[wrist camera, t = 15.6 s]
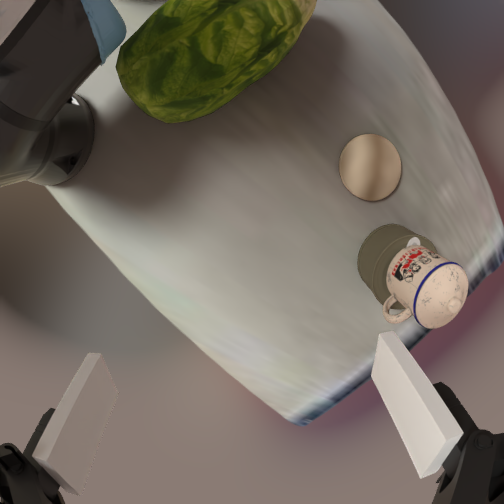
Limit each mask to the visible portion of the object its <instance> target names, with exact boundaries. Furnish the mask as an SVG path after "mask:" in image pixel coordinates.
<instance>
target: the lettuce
mask: <svg viewBox="0 0 504 504" xmlns="http://www.w3.org/2000/svg"><path fill="white" fill-rule="evenodd" d="M316 2H317V0H168V1H167V2H166V3H165V4H163V5H162V6H161V7H160V8H159V9H157V10H156V11H155V12H154V13H153V14H152V15H151V16H150V17H149V18H148V19H147V20H146V22H145V23H144V24H143V25H142V26H141V27H140V28H139V29H138V30H137V31H136V32H135V33H134V34H133V35H132V36H131V37H130V38H129V39H128V40H127V41H126V42H125V43H124V44H123V45H122V46H121V47H120V51H119V55H118V59H117V63H116V70H117V73H118V76H119V79H120V82H121V85H122V87H123V89H124V90H125V92H126V93H127V94H128V96H129V97H130V98H131V99H132V100H133V102H134V103H135V104H136V105H137V106H138V107H139V108H140V109H142V110H143V111H144V112H145V113H146V114H148V115H149V116H151V117H154V118H156V119H158V120H161V121H163V122H165V123H177V122H186V121H191V120H194V119H196V118H199V117H202V116H205V115H208V114H211V113H213V112H214V111H216V110H217V109H219V108H220V107H222V106H223V105H225V104H226V103H228V102H230V101H231V100H232V99H233V98H234V97H235V96H237V95H238V94H239V93H240V92H241V91H243V90H244V89H245V88H246V87H248V86H249V85H251V84H252V83H254V82H255V81H257V80H258V79H260V78H262V77H263V76H265V75H266V74H267V73H269V72H270V71H271V70H272V69H273V68H274V67H276V66H277V65H278V64H279V63H280V62H281V61H282V59H283V58H284V57H285V56H286V55H287V54H288V53H289V51H290V50H291V48H292V47H293V46H294V44H295V43H296V42H297V39H298V37H299V35H300V33H301V31H302V29H303V27H304V26H305V25H306V23H307V22H308V20H309V19H310V17H311V16H312V14H313V11H314V9H315V6H316Z"/></svg>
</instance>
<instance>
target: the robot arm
mask: <svg viewBox="0 0 504 504" xmlns="http://www.w3.org/2000/svg"><path fill="white" fill-rule="evenodd" d="M125 36H126V25H125V23H124V21H123V19H122V17H121V16H120V14H119V13H118V11H117V10H116V8H115V7H114V5H113V4H112V3H111V1H110V0H0V187H3V186H7V185H9V184H13V183H17V182H21V181H24V180H27V181H30V182H34V183H37V184H41V185H55V184H58V183H62V182H65V181H67V180H69V179H70V178H72V177H73V176H75V175H76V174H77V173H78V172H79V171H80V169H81V168H82V167H83V165H84V164H85V162H86V161H87V159H88V157H89V154H90V152H91V149H92V145H93V139H94V122H93V117H92V114H91V111H90V109H89V107H88V105H87V104H86V102H85V101H84V100H83V99H82V98H81V97H79V96H78V95H76V94H74V93H75V92H76V90H77V89H78V88H79V87H80V86H81V85H82V84H83V82H84V81H85V80H86V79H87V78H88V77H89V76H90V75H91V74H92V73H93V72H94V71H95V70H96V69H97V67H98V66H99V65H101V66H102V65H103V64H104V63H105V61H106V58H107V57H108V56H109V55H110V54H111V53H112V52H113V51H114V50H115V49H116V48H117V47H118V46H119V45H120V44H121V43H122V42H123V40H124V38H125ZM371 377H372V379H373V381H374V383H375V385H376V387H377V389H378V391H379V393H380V395H381V397H382V399H383V401H384V403H385V405H386V407H387V409H388V411H389V413H390V415H391V417H392V419H393V421H394V423H395V425H396V427H397V429H398V431H399V433H400V436H401V438H402V440H403V442H404V444H405V446H406V448H407V450H408V453H409V455H410V457H411V459H412V461H413V463H414V466H415V468H416V470H417V472H418V474H419V476H420V478H423V477H426V476H428V475H431V474H433V473H435V472H437V471H438V469H439V468H440V467H441V465H443V467H444V469H445V471H444V472H443V473H442V475H441V476H440V477H439V478H438V480H437V482H436V483H439V481H440V480H441V481H440V484H439V486H438V489H437V492H436V494H435V497H434V500H433V502H432V504H504V433H501V434H492V433H491V432H490V431H487V430H480V429H478V427H477V426H476V425H475V423H474V421H473V420H472V418H471V417H470V416H469V414H468V413H467V411H466V410H465V408H464V407H463V406H462V405H461V403H460V401H459V400H458V398H456V396H455V394H454V393H453V391H452V390H451V389H450V388H449V387H448V386H446V385H445V384H443V383H442V382H439V383H436V384H433V385H432V384H431V382H430V381H429V379H428V378H427V376H426V375H425V374H424V372H423V371H422V369H421V368H420V367H419V365H418V364H417V362H416V361H415V360H414V358H413V357H412V355H411V354H410V353H409V351H408V350H407V348H406V347H405V346H404V344H403V343H402V342H401V340H400V339H399V337H398V336H397V335H396V333H395V332H394V331H389V332H383V333H379V337H378V343H377V349H376V354H375V359H374V364H373V369H372V374H371ZM118 394H119V393H118V391H117V389H116V387H115V385H114V382H113V380H112V378H111V375H110V373H109V371H108V369H107V366H106V364H105V361H104V359H103V356H102V354H101V353H88V355H87V356H86V358H85V360H84V361H83V363H82V364H81V366H80V368H79V369H78V371H77V373H76V375H75V376H74V378H73V380H72V381H71V383H70V385H69V387H68V389H67V390H66V392H65V394H64V395H63V397H62V399H61V401H60V403H59V404H58V406H57V408H56V409H53V408H50V409H49V410H48V411H47V412H46V413H45V414H44V415H43V416H42V418H41V420H40V422H39V425H38V426H37V427H36V429H35V432H34V433H33V435H32V437H31V439H30V441H29V443H28V444H27V446H26V449H25V450H24V452H23V454H22V453H21V452H20V451H19V449H18V448H17V447H16V446H15V445H13V444H11V443H5V444H2V445H0V497H1V502H0V504H65V502H64V500H63V497H62V495H61V493H60V492H59V491H58V489H59V487H60V486H61V487H62V488H63V489H64V490H65V491H66V492H68V493H72V494H76V495H79V496H82V494H83V491H84V488H85V485H86V481H87V478H88V475H89V472H90V469H91V467H92V463H93V461H94V458H95V455H96V452H97V449H98V447H99V444H100V441H101V438H102V436H103V433H104V430H105V428H106V425H107V422H108V420H109V417H110V414H111V412H112V409H113V407H114V404H115V402H116V399H117V397H118Z"/></svg>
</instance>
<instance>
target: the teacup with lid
mask: <svg viewBox="0 0 504 504" xmlns="http://www.w3.org/2000/svg"><path fill="white" fill-rule="evenodd" d="M386 282H387V287H388V290H389V292H390V293H391V296H390V297H389V298H388V299H387V300H386V301H385V303H384V305H383V315H384V317H385V319H386V320H387V321H388V322H389V323H393V324H395V323H400V322H403V321H404V320H406V319H407V318H409V317H410V316H411V315H413V316H414V317H415V319H416V321H417V322H418V323H419V324H420V325H421V326H423V327H426V328H439V327H442V326H444V325H446V324H447V323H449V322H450V321H451V320H452V319H453V318H454V317H455V316H456V315H457V314H458V313H459V311H460V310H461V308H462V306H463V304H464V302H465V300H466V297H467V293H468V279H467V275H466V273H465V271H464V270H463V268H462V267H461V266H460V265H459V264H457V263H454V262H450V261H448V260H446V259H445V258H443V257H441V256H439V255H438V254H436V253H434V252H432V251H431V250H429V249H427V248H425V247H423V246H420V245H411V246H408V247H405V248H404V249H402V250H401V251H400V252H398V253H397V254H396V256H395V257H394V258H393V260H392V261H391V263H390V265H389V268H388V271H387V277H386ZM396 301H399V302H400V303H401V304H402V305H403V306H404V307H405V308H406V309H405V310H404V311H403V312H401V313H400V314H397V315H390V314H389V309H390V307H391V306H392V305H393V304H394V303H395V302H396Z"/></svg>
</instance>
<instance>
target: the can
mask: <svg viewBox="0 0 504 504" xmlns="http://www.w3.org/2000/svg"><path fill="white" fill-rule="evenodd" d="M411 245H420V246H423V247H425V248H427V249H429V250H431V251H432V252H434V253H436V254H437V251H436V249H435V247H434V245H433V244H432V243H431V242H430V241H429V240H428V239H427V238H425V237H423V236H421V235H418V234H416V233H414V232H412V231H410V230H408V229H407V228H405V227H403V226H401V225H397V224H388V225H384V226H381V227H379V228H377V229H376V230H374V231H373V232H372V233H371V234H370V235H369V236H368V237H367V238H366V239H365V241H364V242H363V244H362V246H361V248H360V251H359V254H358V262H357V264H358V271H359V274H360V276H361V278H362V280H363V281H364V282H365V283H366V284H367V286H368V287H369V288H370V289H371V291H372V292H373V293H374V295H375V297H376V299H377V300H378V301H379V302H380V303H381V304H382V305H384V303H385V301H386V300H387V299H388V298H389V297H390V296H391V293H390V292H389V290H388V287H387V282H386V277H387V271H388V268H389V265H390V263H391V261H392V260H393V258H394V257H395V256H396V254H397V253H398V252H400V251H401V250H402V249H404V248H405V247H408V246H411ZM390 308H391V309H404V308H405V307H404V306H403V305H402V304H401V303H400V302H399V301H396V302H395V303H394V304H393V305H392V306H391V307H390Z"/></svg>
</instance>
